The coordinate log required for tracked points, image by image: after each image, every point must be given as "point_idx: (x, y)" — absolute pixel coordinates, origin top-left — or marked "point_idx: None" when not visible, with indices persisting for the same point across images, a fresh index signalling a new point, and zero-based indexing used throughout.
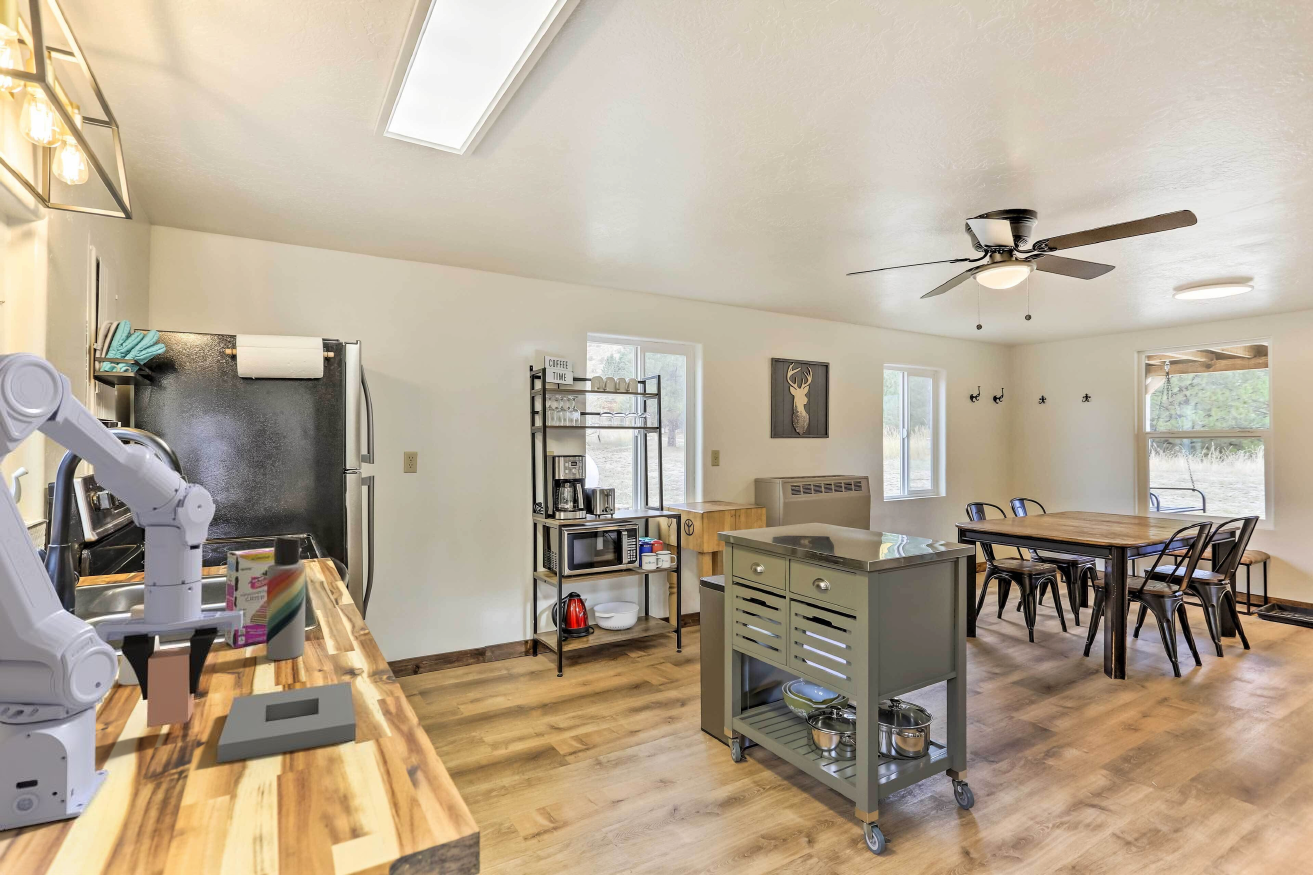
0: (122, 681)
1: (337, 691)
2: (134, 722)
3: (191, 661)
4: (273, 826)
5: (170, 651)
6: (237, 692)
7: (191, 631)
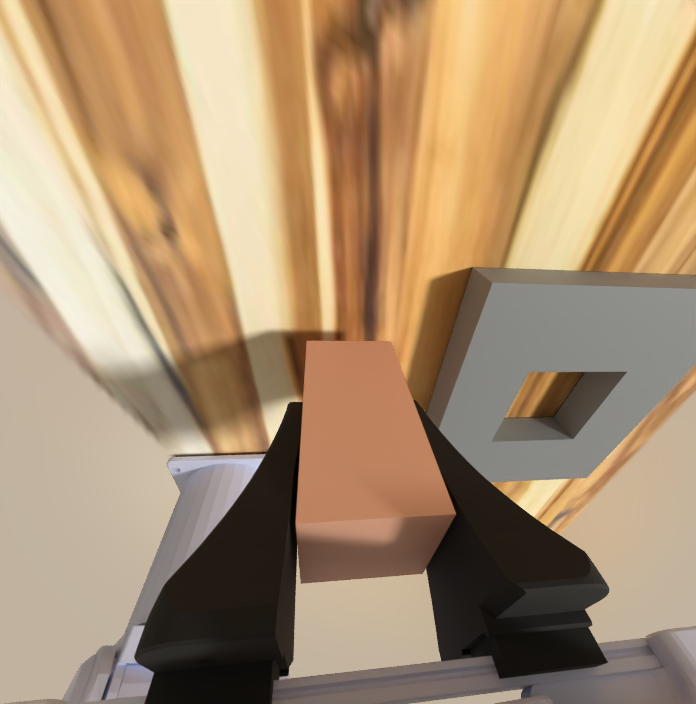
0: None
1: (681, 348)
2: (235, 216)
3: None
4: None
5: (362, 543)
6: (543, 6)
7: (466, 669)
